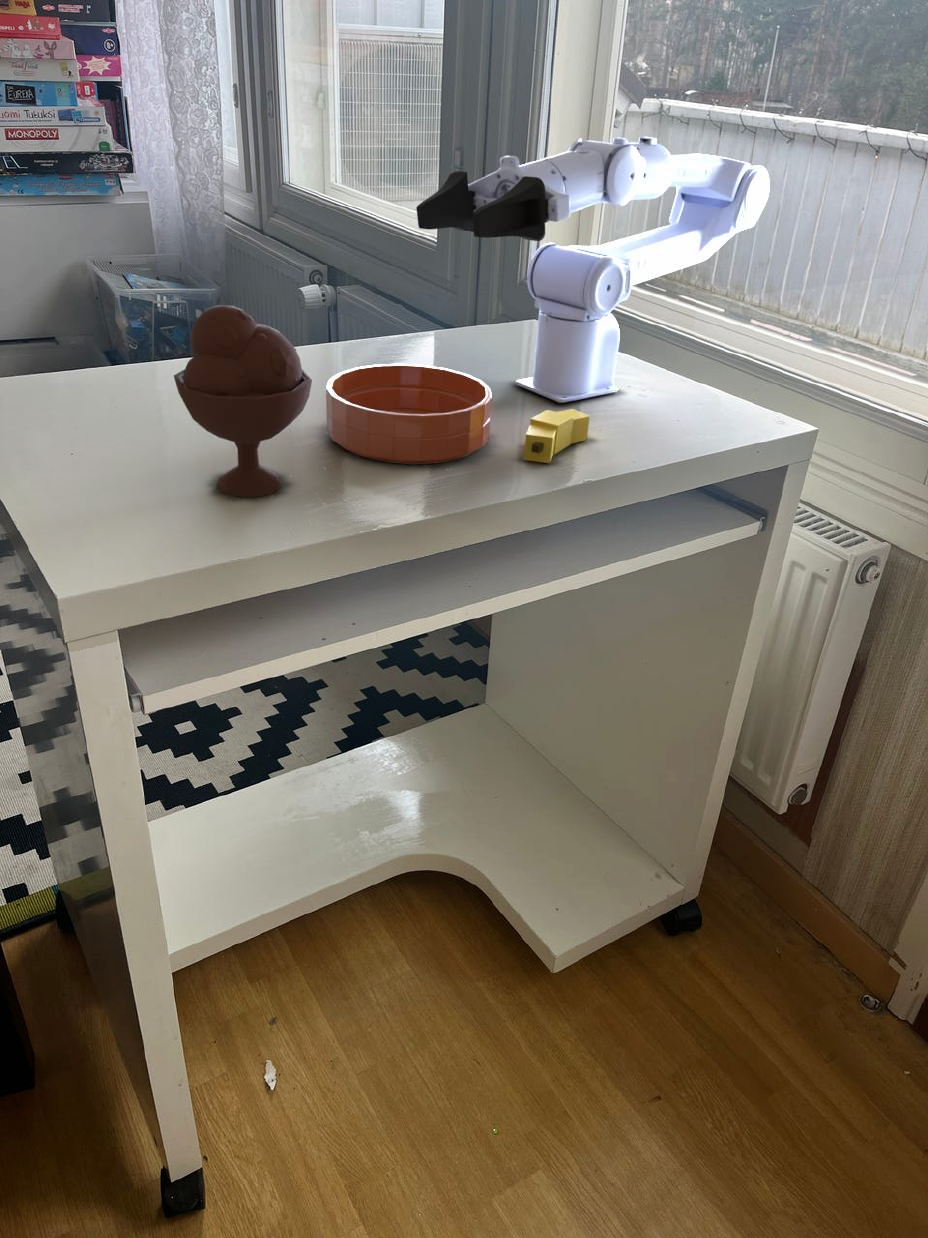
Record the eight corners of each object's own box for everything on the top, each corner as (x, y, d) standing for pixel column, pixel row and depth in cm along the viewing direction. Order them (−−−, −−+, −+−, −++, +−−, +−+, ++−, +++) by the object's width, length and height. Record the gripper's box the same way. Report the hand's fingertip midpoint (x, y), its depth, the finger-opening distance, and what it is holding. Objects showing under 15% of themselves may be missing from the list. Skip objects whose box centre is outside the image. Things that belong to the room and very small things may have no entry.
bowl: (425, 401, 105) (427, 356, 102) (520, 448, 94) (524, 399, 92) (297, 425, 96) (296, 376, 93) (386, 479, 85) (387, 426, 83)
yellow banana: (558, 429, 100) (561, 401, 98) (590, 437, 98) (594, 409, 97) (509, 457, 92) (512, 428, 90) (543, 467, 90) (547, 437, 89)
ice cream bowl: (199, 517, 76) (182, 329, 69) (176, 466, 85) (159, 294, 77) (326, 503, 80) (324, 323, 73) (292, 455, 89) (287, 290, 81)
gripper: (490, 143, 98) (391, 170, 91) (599, 150, 89) (499, 180, 82) (495, 215, 102) (400, 246, 95) (600, 229, 93) (505, 264, 86)
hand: (446, 221), depth 89 cm, fingers open, 7 cm apart
